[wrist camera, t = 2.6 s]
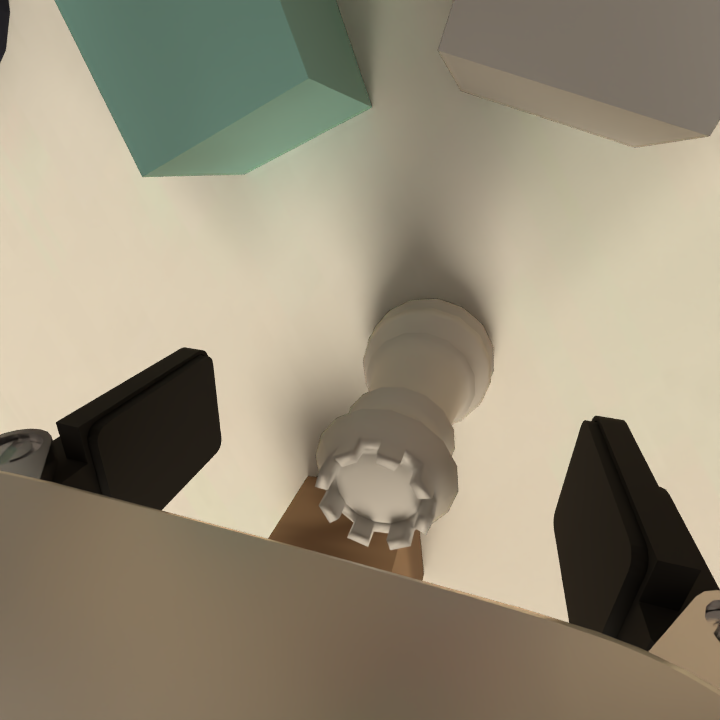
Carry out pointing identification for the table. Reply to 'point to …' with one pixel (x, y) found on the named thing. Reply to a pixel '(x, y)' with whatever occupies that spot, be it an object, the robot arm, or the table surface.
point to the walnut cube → (342, 536)
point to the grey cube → (593, 63)
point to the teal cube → (217, 77)
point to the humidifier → (3, 25)
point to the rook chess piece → (405, 422)
